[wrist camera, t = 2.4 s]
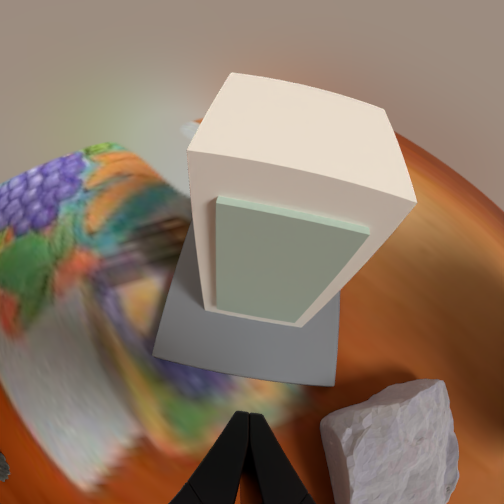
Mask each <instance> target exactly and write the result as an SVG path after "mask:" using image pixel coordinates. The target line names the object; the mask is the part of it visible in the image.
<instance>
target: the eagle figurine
mask: <svg viewBox="0 0 504 504" xmlns="http://www.w3.org/2000/svg"><path fill="white" fill-rule="evenodd" d="M5 460H6V459H5V457H4V455H3V454H2V453H0V480H1V481H3V482H5V479H8V475H10V471H9V465H8V464H7V463H6V461H5Z"/></svg>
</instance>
